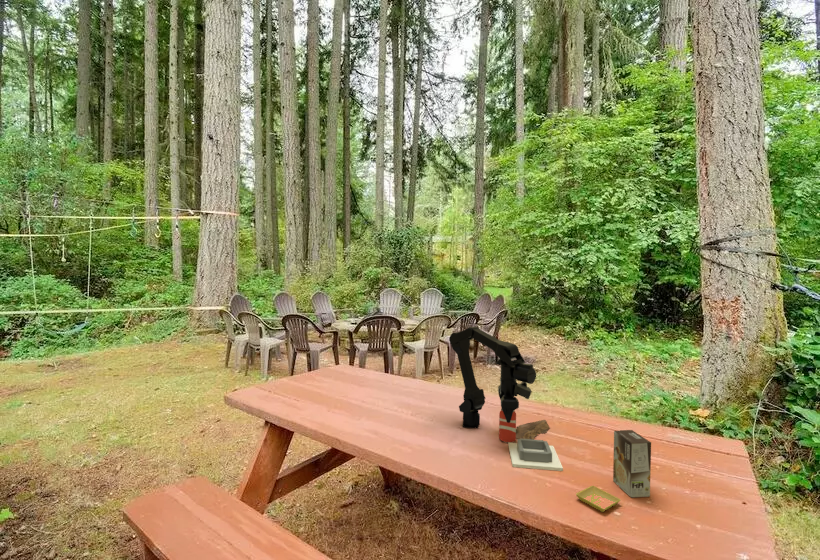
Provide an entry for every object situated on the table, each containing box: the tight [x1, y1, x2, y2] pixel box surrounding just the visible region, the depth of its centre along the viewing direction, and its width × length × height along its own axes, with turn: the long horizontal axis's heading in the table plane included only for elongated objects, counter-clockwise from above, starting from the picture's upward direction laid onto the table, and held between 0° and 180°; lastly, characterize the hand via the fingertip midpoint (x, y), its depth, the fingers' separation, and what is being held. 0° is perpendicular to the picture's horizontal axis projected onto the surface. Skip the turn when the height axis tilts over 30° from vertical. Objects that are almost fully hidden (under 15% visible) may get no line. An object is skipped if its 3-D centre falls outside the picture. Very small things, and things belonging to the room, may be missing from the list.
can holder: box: [507, 439, 564, 472], centre depth 137 cm, size 16×16×4 cm
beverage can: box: [498, 407, 517, 444], centre depth 150 cm, size 6×6×12 cm
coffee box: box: [612, 429, 652, 498], centre depth 118 cm, size 9×6×16 cm
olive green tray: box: [575, 485, 621, 513], centre depth 112 cm, size 9×9×2 cm
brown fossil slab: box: [516, 419, 551, 440], centre depth 161 cm, size 26×11×1 cm, turn 133°
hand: (507, 417), depth 150 cm, fingers open, 9 cm apart
